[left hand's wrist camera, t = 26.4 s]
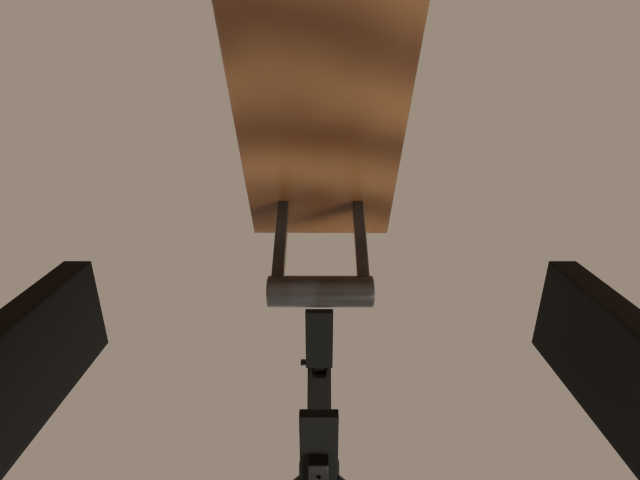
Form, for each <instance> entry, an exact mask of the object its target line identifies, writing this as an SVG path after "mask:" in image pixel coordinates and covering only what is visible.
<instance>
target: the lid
mask: <svg viewBox="0 0 640 480" xmlns="http://www.w3.org/2000/svg"><path fill="white" fill-rule="evenodd" d="M429 1H430V0H212V5H213V10H214V16H215V21H216V27H217V32H218V37H219V43H220V48H221V53H222V59H223V64H224V70H225V75H226V81H227V86H228V91H229V97H230V102H231V108H232V113H233V118H234V124H235V129H236V134H237V140H238V145H239V151H240V156H241V161H242V167H243V172H244V177H245V183H246V188H247V194H248V199H249V204H250V210H251V215H252V220H253V226H254V231H255V233H275V242H274V253H273V264H272V275H271V276H268V279H267V286H266V300H267V306H268V307H373V305H374V295H375V290H374V279H373V277H372V276H369V264H368V252H367V240H366V233H386V232H387V229H388V223H389V218H390V213H391V207H392V202H393V196H394V191H395V185H396V180H397V175H398V169H399V164H400V158H401V153H402V148H403V142H404V137H405V131H406V126H407V121H408V115H409V110H410V104H411V99H412V93H413V88H414V83H415V77H416V72H417V66H418V61H419V55H420V50H421V45H422V39H423V34H424V28H425V23H426V18H427V12H428V7H429ZM287 233H354V246H355V263H356V276H285V263H286V248H287Z"/></svg>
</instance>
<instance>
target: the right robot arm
mask: <svg viewBox="0 0 640 480" xmlns="http://www.w3.org/2000/svg"><path fill="white" fill-rule="evenodd" d="M305 316H306V317H305V318H306V359H301V365H306V368H308V409H300V412H299V432H300V463H299V476H297V477H296V478H295V479H294V480H345V479H344V478H342V477H341V476H339V460H338V422H339V416H338V410H337V409H331V368H332V351H333V309H306V312H305Z"/></svg>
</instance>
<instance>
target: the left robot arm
mask: <svg viewBox="0 0 640 480" xmlns="http://www.w3.org/2000/svg"><path fill="white" fill-rule="evenodd" d="M107 343H108V339H107V334H106V330H105V325H104V320H103V316H102V311H101V306H100V302H99V297H98V292H97V288H96V283H95V278H94V274H93V269H92V264H91V261H64V262H63V263H61V264H60V265H59V266H57V267H56V268H55V269H53V270H52V271H51V272H49V273H48V274H47V275H45V276H44V277H43V278H41V279H40V280H39V281H37V282H36V283H35V284H33V285H32V286H31V287H29V288H28V289H27V290H25V291H24V292H23V293H21V294H20V295H18V296H17V297H16V298H15V299H13V300H12V301H11V302H9V303H8V304H6V305H5V306H4V307H2V308H1V309H0V480H2V479H3V477H4V476H5V475H6V473H7V472H8V471H9V470H10V468H11V467H12V466H13V464H14V463H15V462H16V460H17V459H18V458H19V457H20V455H21V454H22V453H23V451H24V450H25V449H26V448H27V446H28V445H29V444H30V442H31V441H32V440H33V439H34V437H35V436H36V435H37V433H38V432H39V431H40V430H41V428H42V427H43V426H44V424H45V423H46V422H47V421H48V419H49V418H50V417H51V415H52V414H53V413H54V412H55V410H56V409H57V408H58V406H59V405H60V404H61V403H62V401H63V400H64V399H65V397H66V396H67V395H68V394H69V392H70V391H71V390H72V388H73V387H74V386H75V385H76V383H77V382H78V381H79V379H80V378H81V377H82V376H83V374H84V373H85V372H86V370H87V369H88V368H89V367H90V365H91V364H92V363H93V361H94V360H95V359H96V358H97V356H98V355H99V354H100V352H101V351H102V350H103V349H104V347H105V346H106V345H107ZM532 343H533V345H534V346H535V347H536V349H537V350H538V351H539V352H540V354H541V355H542V356H543V358H544V359H545V360H546V361H547V363H548V364H549V365H550V367H551V368H552V369H553V370H554V372H555V373H556V374H557V376H558V377H559V378H560V379H561V381H562V382H563V383H564V385H565V386H566V387H567V388H568V390H569V391H570V392H571V394H572V395H573V396H574V397H575V399H576V400H577V401H578V403H579V404H580V405H581V406H582V408H583V409H584V410H585V412H586V413H587V414H588V415H589V417H590V418H591V419H592V421H593V422H594V423H595V424H596V426H597V427H598V428H599V430H600V431H601V432H602V433H603V435H604V436H605V437H606V439H607V440H608V441H609V442H610V444H611V445H612V446H613V448H614V449H615V450H616V451H617V453H618V454H619V455H620V457H621V458H622V459H623V460H624V462H625V463H626V464H627V466H628V467H629V468H630V470H631V471H632V472H633V473H634V475H635V476H636V477H637V478H638V480H640V309H639V308H638V307H636V306H635V305H634V304H632V303H631V302H630V301H628V300H627V299H626V298H624V297H623V296H622V295H620V294H619V293H617V292H616V291H615V290H614V289H612V288H611V287H610V286H608V285H607V284H605V283H604V282H603V281H601V280H600V279H599V278H597V277H596V276H595V275H593V274H592V273H591V272H589V271H588V270H587V269H585V268H584V267H583V266H581V265H580V264H579V263H577V262H576V261H550V262H549V264H548V269H547V274H546V278H545V283H544V288H543V292H542V297H541V302H540V306H539V311H538V316H537V320H536V325H535V330H534V334H533V339H532Z"/></svg>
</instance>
